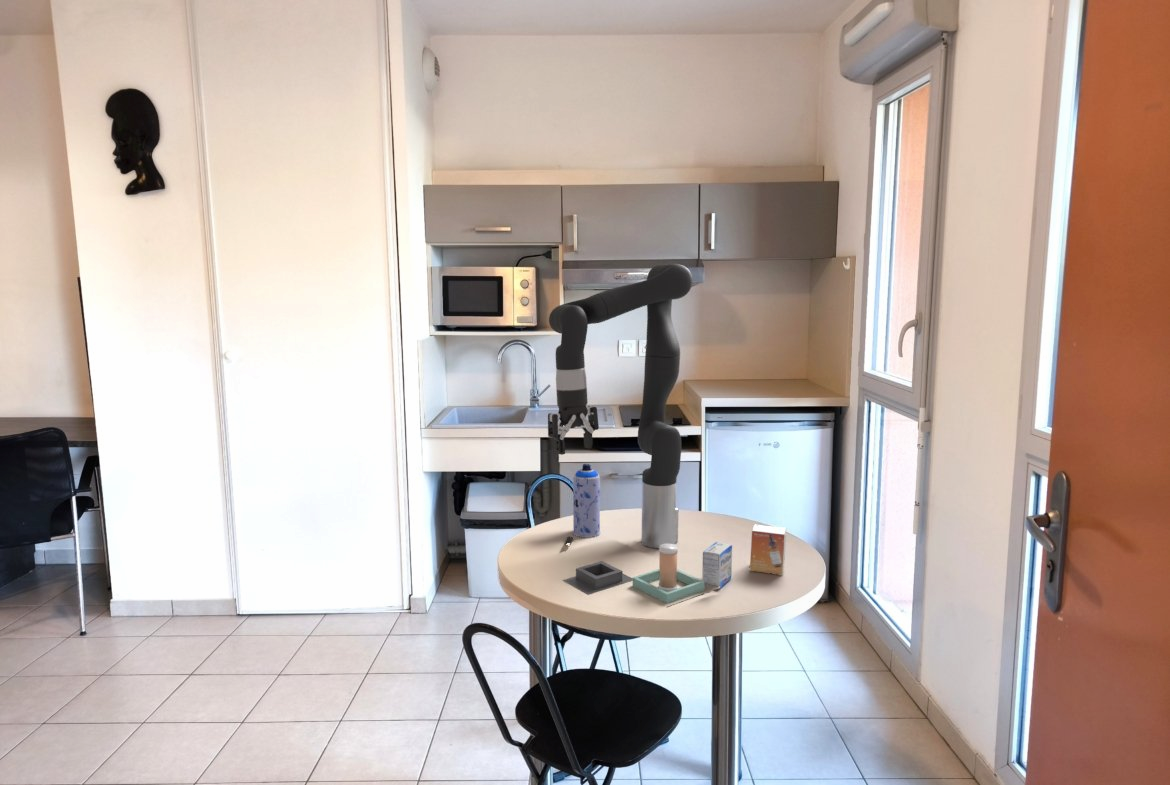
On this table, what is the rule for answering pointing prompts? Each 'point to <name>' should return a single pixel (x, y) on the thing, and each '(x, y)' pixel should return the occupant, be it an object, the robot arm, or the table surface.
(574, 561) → the table surface
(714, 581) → the medicine box
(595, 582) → the grey square socket stand
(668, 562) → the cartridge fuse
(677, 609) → the table surface
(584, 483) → the aerosol can
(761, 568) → the small box
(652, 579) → the parts tray
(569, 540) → the claw hammer
